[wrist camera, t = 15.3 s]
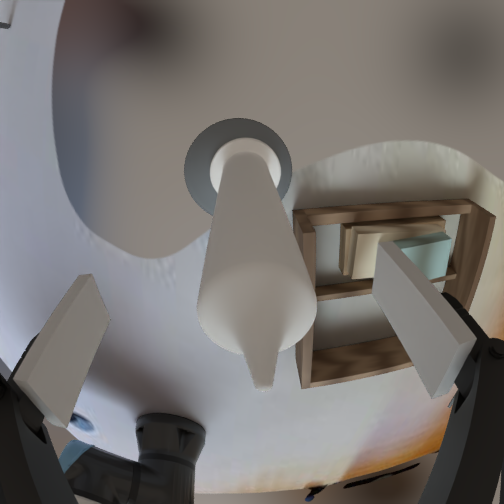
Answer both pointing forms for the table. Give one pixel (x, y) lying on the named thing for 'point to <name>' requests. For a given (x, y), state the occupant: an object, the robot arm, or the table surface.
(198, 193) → the pad
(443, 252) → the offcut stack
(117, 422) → the table surface
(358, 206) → the rack
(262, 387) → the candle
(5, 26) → the juicer
